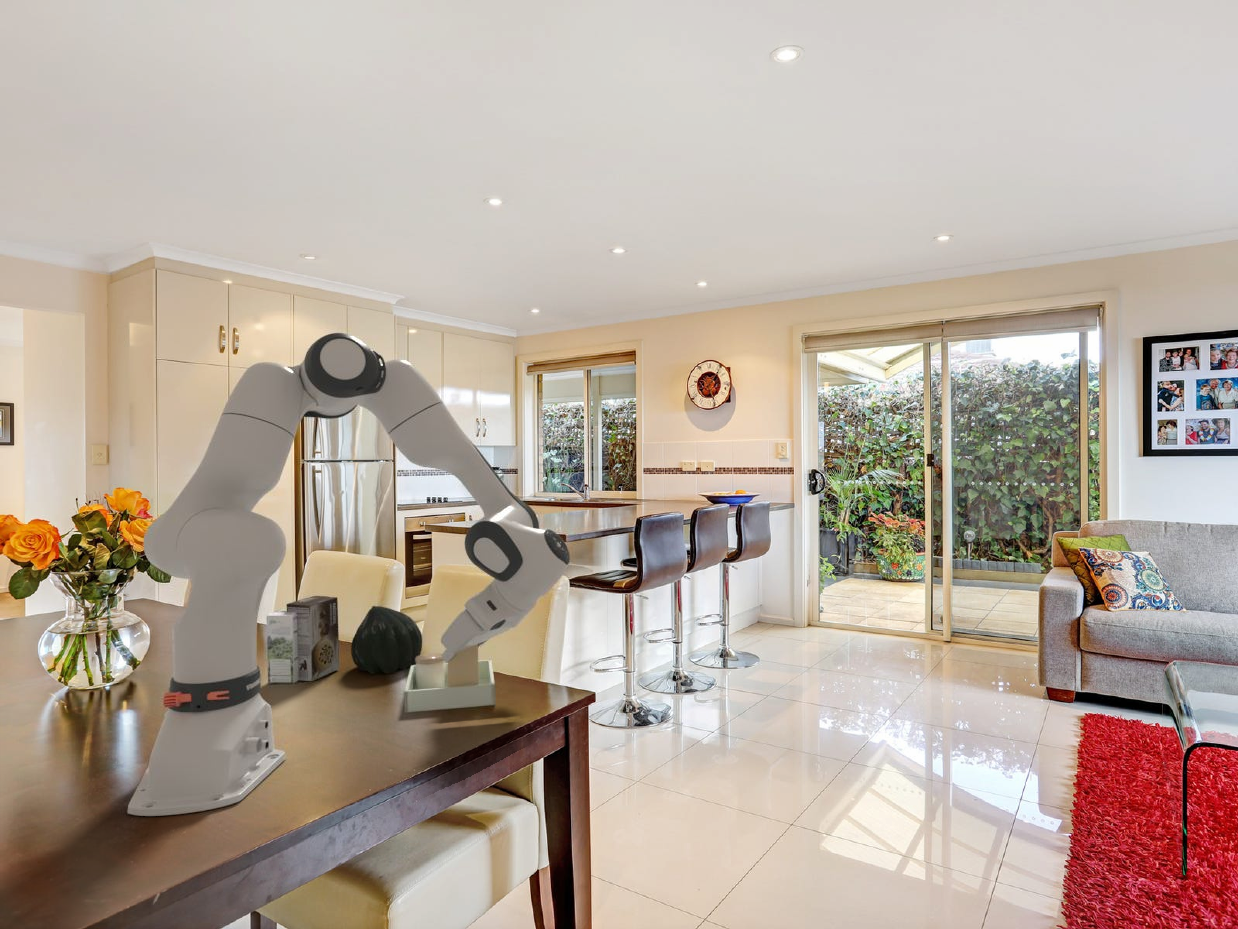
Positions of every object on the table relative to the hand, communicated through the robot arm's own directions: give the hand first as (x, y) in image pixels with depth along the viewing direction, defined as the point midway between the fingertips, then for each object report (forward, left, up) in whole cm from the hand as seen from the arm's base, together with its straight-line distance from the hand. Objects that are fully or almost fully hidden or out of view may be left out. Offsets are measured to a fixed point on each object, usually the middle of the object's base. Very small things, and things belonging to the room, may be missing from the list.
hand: (460, 652), depth 136 cm
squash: (+26, +16, -10) cm, 32 cm away
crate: (+4, +2, -10) cm, 10 cm away
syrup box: (+24, +36, -10) cm, 45 cm away
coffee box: (+27, +31, -10) cm, 42 cm away
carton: (0, 0, -9) cm, 9 cm away
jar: (+8, +6, -9) cm, 14 cm away
